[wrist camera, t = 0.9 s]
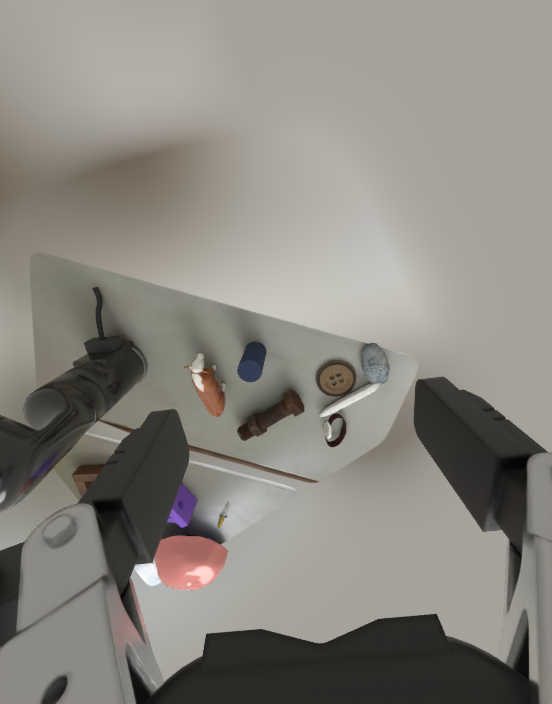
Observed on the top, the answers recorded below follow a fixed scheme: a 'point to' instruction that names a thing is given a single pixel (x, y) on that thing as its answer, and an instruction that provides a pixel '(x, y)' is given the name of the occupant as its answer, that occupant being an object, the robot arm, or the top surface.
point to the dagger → (223, 515)
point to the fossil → (375, 364)
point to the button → (336, 378)
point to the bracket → (182, 507)
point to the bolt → (271, 416)
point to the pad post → (252, 362)
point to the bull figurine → (208, 386)
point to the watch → (328, 430)
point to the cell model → (189, 561)
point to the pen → (350, 399)
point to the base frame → (86, 476)
